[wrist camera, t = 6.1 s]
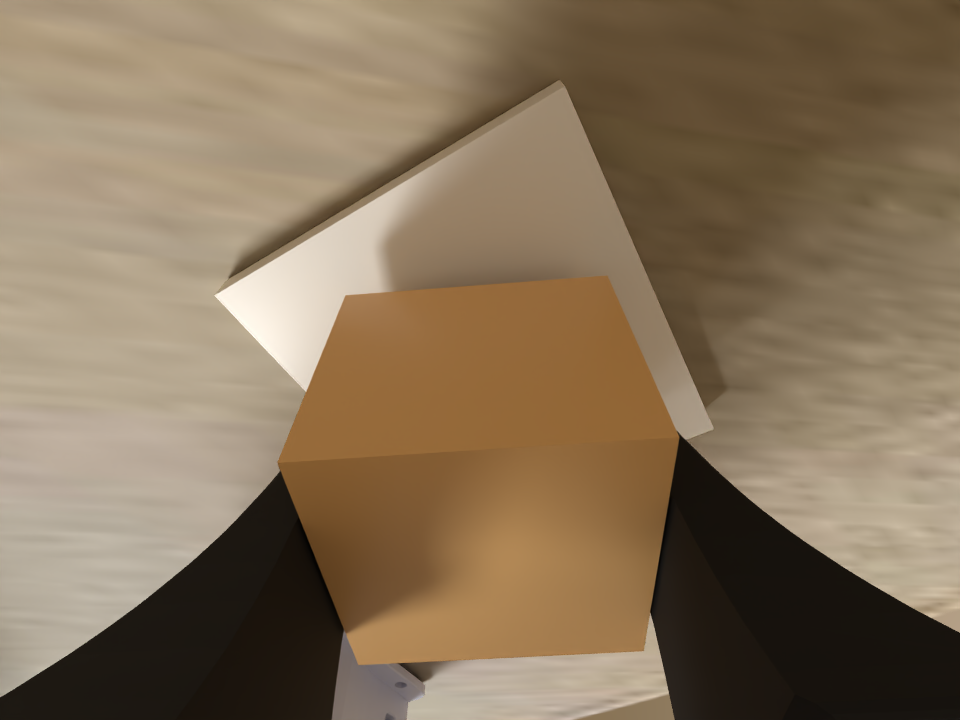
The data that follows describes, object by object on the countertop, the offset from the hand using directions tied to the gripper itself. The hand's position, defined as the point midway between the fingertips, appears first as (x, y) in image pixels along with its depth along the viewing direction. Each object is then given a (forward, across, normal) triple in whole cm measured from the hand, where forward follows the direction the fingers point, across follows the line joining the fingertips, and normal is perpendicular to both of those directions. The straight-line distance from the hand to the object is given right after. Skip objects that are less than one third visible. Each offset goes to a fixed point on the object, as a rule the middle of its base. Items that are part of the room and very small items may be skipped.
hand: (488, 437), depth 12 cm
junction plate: (+3, 0, 0) cm, 3 cm away
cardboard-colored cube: (+2, 0, 0) cm, 2 cm away
